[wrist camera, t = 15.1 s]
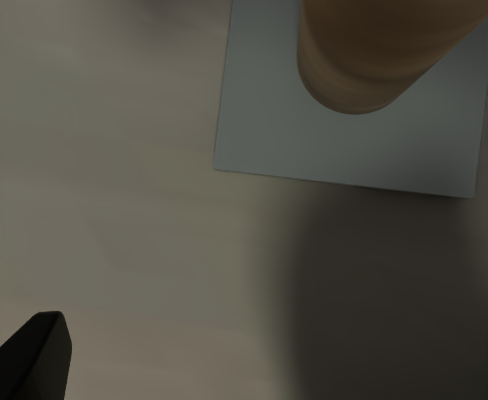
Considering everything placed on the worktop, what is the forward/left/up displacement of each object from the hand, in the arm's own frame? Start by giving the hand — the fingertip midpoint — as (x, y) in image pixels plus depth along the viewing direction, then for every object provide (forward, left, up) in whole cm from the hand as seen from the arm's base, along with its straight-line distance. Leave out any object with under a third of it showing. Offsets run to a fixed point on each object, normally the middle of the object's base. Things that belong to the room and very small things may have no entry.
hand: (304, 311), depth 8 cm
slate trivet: (-2, -9, -11) cm, 14 cm away
